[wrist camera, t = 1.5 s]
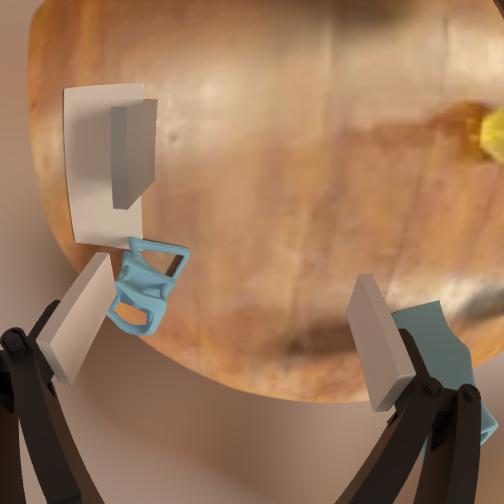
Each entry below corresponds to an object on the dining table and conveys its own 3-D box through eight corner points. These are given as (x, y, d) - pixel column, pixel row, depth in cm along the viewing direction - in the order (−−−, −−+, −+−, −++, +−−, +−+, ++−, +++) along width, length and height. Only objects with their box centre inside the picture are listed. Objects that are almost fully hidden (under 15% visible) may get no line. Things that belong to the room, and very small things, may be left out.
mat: (66, 88, 29) (64, 88, 29) (144, 82, 29) (142, 82, 29) (76, 240, 40) (75, 242, 40) (143, 249, 41) (142, 250, 40)
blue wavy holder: (388, 313, 46) (440, 449, 25) (439, 300, 45) (503, 420, 24) (384, 350, 51) (421, 472, 30) (430, 338, 50) (477, 449, 29)
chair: (136, 222, 38) (104, 279, 28) (192, 250, 41) (177, 313, 31) (118, 264, 42) (90, 323, 32) (169, 288, 44) (153, 352, 34)
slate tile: (143, 99, 31) (109, 106, 23) (157, 99, 31) (127, 106, 23) (141, 179, 36) (111, 208, 28) (154, 180, 36) (127, 210, 28)
